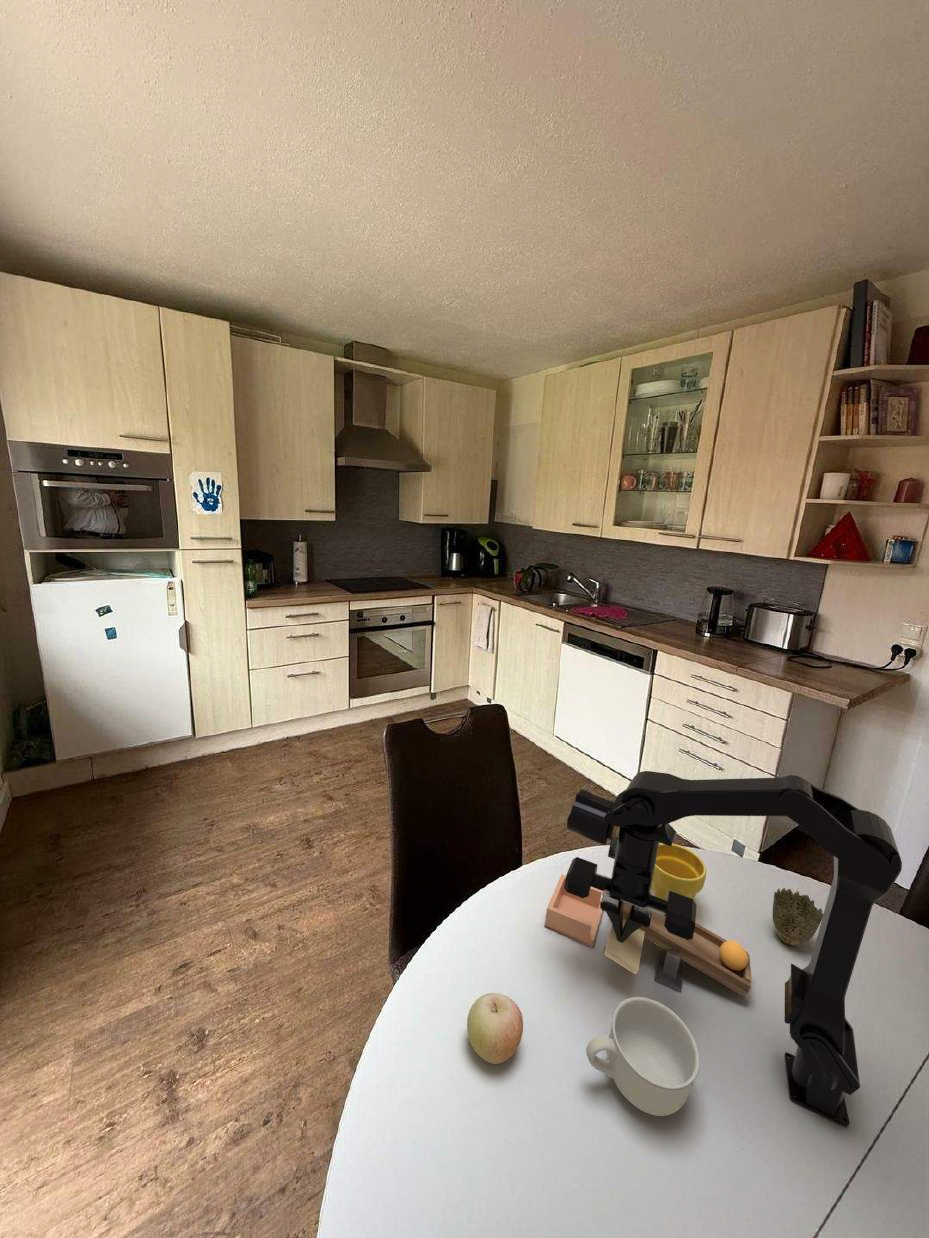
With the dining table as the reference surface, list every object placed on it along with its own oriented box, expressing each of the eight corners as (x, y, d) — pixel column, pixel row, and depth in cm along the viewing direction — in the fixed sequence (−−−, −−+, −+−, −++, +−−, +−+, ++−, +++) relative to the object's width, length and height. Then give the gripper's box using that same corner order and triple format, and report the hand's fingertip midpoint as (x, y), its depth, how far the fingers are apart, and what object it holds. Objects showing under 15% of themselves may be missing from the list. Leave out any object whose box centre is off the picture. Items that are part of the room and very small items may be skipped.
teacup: (674, 1047, 72) (684, 1002, 70) (701, 1141, 61) (714, 1091, 59) (575, 1031, 73) (582, 987, 71) (584, 1120, 62) (593, 1071, 61)
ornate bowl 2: (822, 960, 88) (833, 922, 86) (780, 956, 88) (790, 918, 86) (796, 925, 95) (806, 889, 93) (756, 921, 95) (766, 885, 93)
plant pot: (629, 887, 101) (637, 845, 99) (672, 879, 105) (680, 838, 102) (663, 929, 92) (673, 884, 89) (709, 919, 95) (719, 875, 93)
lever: (747, 1044, 71) (755, 1032, 70) (598, 951, 79) (604, 939, 78) (742, 961, 84) (749, 950, 84) (615, 888, 92) (620, 877, 91)
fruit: (474, 1082, 66) (479, 1034, 64) (460, 1025, 72) (464, 981, 71) (528, 1068, 68) (535, 1021, 66) (509, 1014, 75) (515, 971, 73)
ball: (742, 981, 80) (752, 963, 78) (715, 966, 81) (725, 948, 80) (740, 961, 83) (751, 944, 82) (715, 947, 84) (725, 929, 83)
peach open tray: (592, 947, 87) (595, 928, 86) (544, 926, 90) (547, 907, 89) (603, 909, 95) (606, 891, 94) (559, 891, 99) (561, 874, 98)
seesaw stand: (680, 992, 80) (686, 966, 79) (654, 980, 82) (659, 955, 80) (684, 936, 91) (689, 913, 89) (661, 927, 92) (665, 904, 91)
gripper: (704, 845, 79) (686, 928, 83) (585, 807, 87) (574, 884, 91) (703, 892, 69) (683, 983, 73) (569, 844, 77) (557, 929, 81)
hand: (620, 940), depth 80 cm, fingers closed
